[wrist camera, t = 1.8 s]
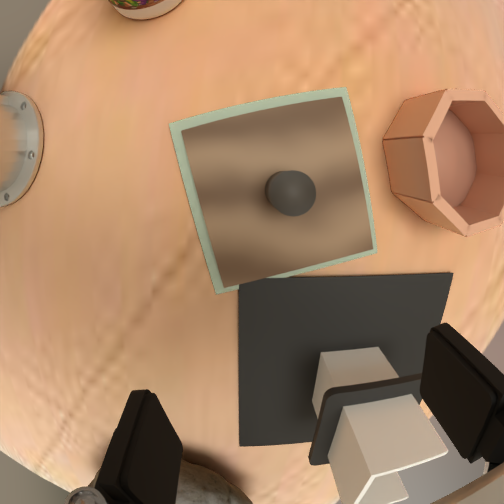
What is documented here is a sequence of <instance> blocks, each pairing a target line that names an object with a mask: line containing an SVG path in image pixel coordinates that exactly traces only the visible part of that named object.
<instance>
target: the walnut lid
mask: <svg viewBox="0 0 504 504" xmlns="http://www.w3.org/2000/svg"><path fill="white" fill-rule="evenodd" d="M181 133H182V137H183V141H184V145H185V149H186V153H187V156H188V160H189V164H190V168H191V172H192V176H193V180H194V183H195V187H196V191H197V195H198V198H199V202H200V206H201V209H202V213H203V217H204V220H205V224H206V228H207V231H208V235H209V238H210V242H211V245H212V249H213V252H214V256H215V259H216V263H217V266H218V270H219V273H220V276H221V280H222V283H223V287H224V288H227V287H231V286H235V285H239V284H243V283H247V282H251V281H255V280H259V279H263V278H267V277H271V276H275V275H279V274H283V273H286V272H290V271H294V270H298V269H302V268H306V267H309V266H313V265H317V264H321V263H324V262H328V261H332V260H336V259H339V258H343V257H347V256H350V255H354V254H358V253H361V252H365V251H368V250H372V249H373V242H372V235H371V229H370V222H369V216H368V210H367V204H366V199H365V193H364V188H363V183H362V178H361V173H360V168H359V163H358V159H357V154H356V150H355V145H354V141H353V137H352V133H351V129H350V125H349V121H348V117H347V113H346V110H345V106H344V102H343V99H342V97H334V98H327V99H320V100H313V101H307V102H301V103H295V104H290V105H284V106H279V107H274V108H269V109H264V110H259V111H255V112H250V113H246V114H242V115H237V116H233V117H229V118H225V119H221V120H217V121H213V122H210V123H206V124H202V125H199V126H195V127H192V128H188V129H185V130H182V131H181Z"/></svg>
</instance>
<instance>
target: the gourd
mask: <svg viewBox="0 0 504 504" xmlns="http://www.w3.org/2000/svg"><path fill="white" fill-rule="evenodd" d="M99 472H100V470H99V471H98V472H97V474H96V476H95V478H94V479H93V481H92V482H91V483H90V484H89V485H88V487H92V488H94V487H95V484H96V481H97V478H98V475H99ZM176 504H253V503H252V501H251V500H250V499H249V498H248V497H247V496H246V495H245V494H244V493H243V492H242V491H241V490H240V489H239V488H238V487H236V486H235V485H233V484H231V483H229V482H228V481H226V480H225V478H224V477H222V476H221V475H219V474H218V473H216V472H214V471H212V470H209V469H208V468H206V467H203V466H200V465H196V464H190V463H188V462H187V461H185V460H183V459H181V466H180V473H179V481H178V488H177V496H176Z"/></svg>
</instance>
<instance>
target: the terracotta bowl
mask: <svg viewBox="0 0 504 504" xmlns="http://www.w3.org/2000/svg"><path fill="white" fill-rule="evenodd" d="M383 139H384V140H385V141H383V146H384V151H385V156H386V161H387V167H388V173H389V179H390V185H391V192H393V194H394V195H395V196H396V197H397V198H399V199H400V200H401V201H402V202H403V203H405V204H406V205H407V206H408V207H409V208H410V209H412V210H413V211H414V212H415V213H416V214H417V215H419V216H420V217H421V218H422V219H423V220H424V221H427V222H429V223H432V224H435V225H437V226H440V227H442V228H445V229H447V230H450V231H452V232H455V233H457V234H460V235H462V236H465V237H469V236H472V235H475V234H478V233H481V232H484V231H487V230H490V229H492V228H495V227H498V226H501V224H502V223H503V221H504V114H503V112H502V111H501V110H500V108H499V107H498V106H497V105H496V103H495V102H494V101H493V99H492V98H491V97H490V96H489V94H488V93H487V92H486V91H484V90H472V89H444V90H440V91H436V92H433V93H429V94H425V95H422V96H418V97H414V98H411V99H407V100H405V101H404V102H403V104H402V106H401V108H400V110H399V111H398V113H397V115H396V117H395V118H394V120H393V122H392V124H391V125H390V127H389V129H388V131H387V132H386V134H385V136H384V138H383Z"/></svg>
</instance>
